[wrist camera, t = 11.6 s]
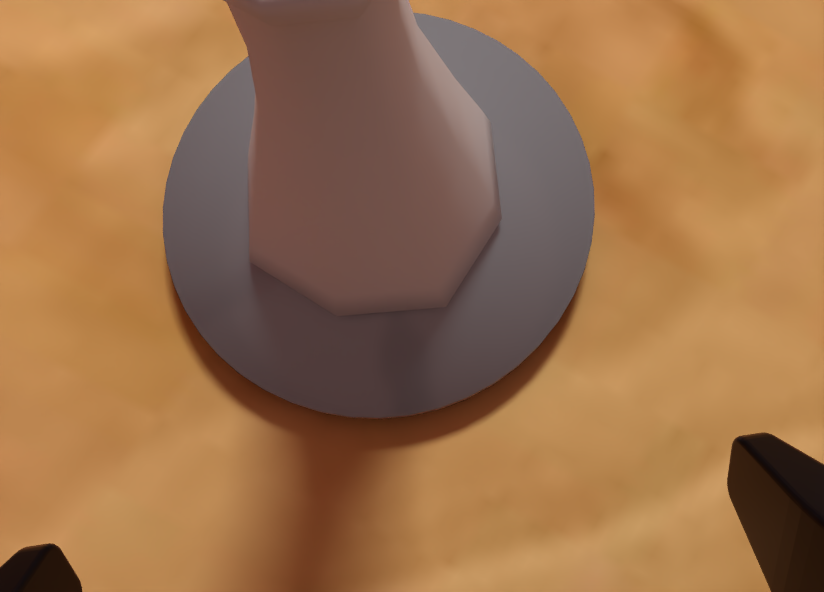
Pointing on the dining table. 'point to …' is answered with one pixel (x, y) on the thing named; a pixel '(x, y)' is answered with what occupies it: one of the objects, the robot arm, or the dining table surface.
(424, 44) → the flask
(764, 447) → the robot arm
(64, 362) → the dining table surface
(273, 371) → the slate coaster
